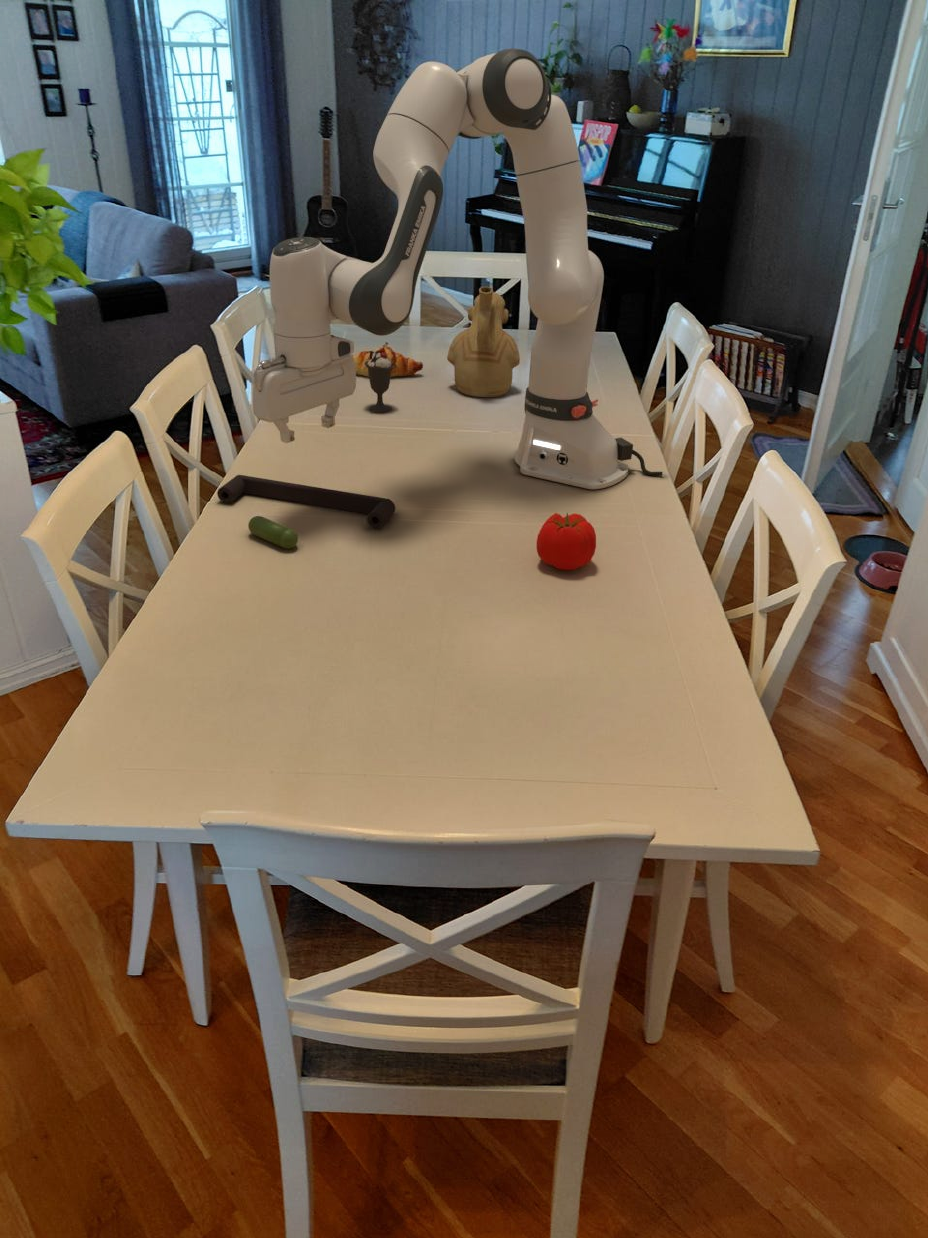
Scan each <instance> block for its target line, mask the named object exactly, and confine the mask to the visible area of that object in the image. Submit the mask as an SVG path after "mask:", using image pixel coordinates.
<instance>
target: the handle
mask: <svg viewBox="0 0 928 1238" xmlns="http://www.w3.org/2000/svg"><path fill="white" fill-rule="evenodd" d="M216 494H217V495H216V496H217V498H218V500H219V501H221V502H222V503H224V504H230V503H232V502H233V501H234V500H235V499H237V498H238V497H239V496H240V495H242V494H247V495H252V496H259V497H265V498H269V499H277V500H282V501H288V502H294V503H300V504H305V505H312V506H318V507H323V508H324V507H325V508H330V509H337V510H342V511H349V512H353V513H360V514H367V516H366V522H367V524H368V526H369V527H370V528H371V529H376V530H377V529H381V528H382V527H383V526H384V524H385V523H387V522H388V520H389V519H390V518H391V517H392V515H394V514H395V512H396V504H395V502H394V501H393V500H391V499H390V498H386V497H379V496H373V495H367V494H363V493H356V492H355V493H353V492H350V491H349V492H348V491H343V490H336V489H330V488H323V487H319V486H318V487H317V486H311V485H306V484H305V485H304V484H300V483H294V482H287V481H280V480H275V479H269V478H262V477H256V476H249V475H244V474H236V475H235V476H234V477H233V478H231V479H230V480H229V481H227V482H226V483H225V484H223V485H222V486H221V487H219V488H218V489H217V493H216Z"/></svg>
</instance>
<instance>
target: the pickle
mask: <svg viewBox="0 0 928 1238" xmlns="http://www.w3.org/2000/svg"><path fill="white" fill-rule="evenodd" d="M247 526H248V530H249V532H250V533H251V534H252V535H253V536H255V537H258V538H261V539H262V540H265V541H268V542H269V543H272V544H274V545H276V546H277V547H281V548H283V549H286V550H287V549H288V550H290V549H293V548H295V547H296V546H297V544H298V542H299V536H298V533H297V531H295V530H294V529H293V528H290V527H288V526H285V525H283V524H280V523H278V522H276V521H273V520H271V519H269V518H266V517H264V516H261V515H255V516H253V517H252V518H250V519H249V521H248V525H247Z"/></svg>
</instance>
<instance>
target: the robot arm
mask: <svg viewBox="0 0 928 1238" xmlns="http://www.w3.org/2000/svg"><path fill="white" fill-rule="evenodd" d="M497 135H502V136H503V137H504V138H505V140H506V142H507V143H508V145H509V148H510V150H511V154H512V159H513V168H514V173H515V179H516V184H517V189H518V195H519V201H520V202H519V203H520V206H521V212H522V218H523V224H524V237H525V238H524V239H525V257H526V258H525V260H526V273H527V285H528V286H527V287H528V288H527V300H528V301H527V303H528V306H529V308H530V311H531V312H532V314H533V315H534V316H535V317H536V318H537V322H536V323H537V324H536V328H535V333H534V337H533V341H532V344H531V351H530V363H529V374H528V375H529V376H528V387H527V388H526V389H525V396H524V415H525V416H524V420H523V421H524V422H523V428H522V432H521V436H520V441H519V443H518V447H517V448H516V449H517V450H516V453H515V455H514V458H513V459H514V462H515V463H516V464H517V465H518V466H519V473H521V474H522V475H524V476H529V477H533V478H538V479H543V480H546V481H551V482H555V483H560V484H565V485H570V486H574V487H577V488H581V489H582V488H583V489H586V490H600V489H605V488H609V487H611V486H614V485H616V484H618V483H620V482H621V481H623V480H624V479H625V478H626V477H627V476H628V475H629V465H627V464H626V463H623V461H630V460H632V458H633V457H632V456H635V457H636V459H638V460H639V464H640V469H641V472H642V473H643V474H645V475H647V476H650V477H657V476H659V477H662V476H663V473H664V472H663V471H650V470H648V469H646V464H645V459H644V457H643V455H641V454H640V453H639V452H638V451H636V450H634V444H633V443H631V442H630V441H628V440H627V439H625V438H623V437H614V436H613V435H612V434H611V433H610V432H609V431H608V429H606V427H605V426H603V424H602V423H601V422H600V421H599V419H597V417H596V416H595V415H594V414H593V413H594V412H593V408H594V407H597V406H598V405H599V404H598V402H599V399H595V400H593V401H592V400H591V398H590V396H589V393H588V383H589V374H590V367H591V366H590V365H591V356H592V349H593V344H594V340H595V334H596V329H597V324H598V318H599V312H600V307H601V306H600V305H601V301H602V294H603V287H604V280H605V272H604V268H603V264H602V262H601V259H600V258H599V257H598V256H597V255H596V254H595V252H593V251H592V250H589V242H588V239H589V238H588V204H587V198H586V193H585V184H584V177H583V172H582V166H581V165H582V164H581V161H580V153H579V148H578V142H577V139H576V135H575V131H574V126H573V124H572V120H571V117H570V114H569V111H568V108H567V106H566V104H565V102H564V100H562V99H561V98H560V97H559V96H558V95H556V94H553V93H552V89H551V87H550V85H549V82H548V78H547V75H546V72H545V70H544V68H543V65H541V62H540V61H539V60H538V58H537V57H536V56H535V55H534V54H533V53H531V52H530V51H527V50H525V49H521V48H505V49H502V50H499V51H497V52H494V53H490V54H487V55H484V56H482V57H479V58H477V59H476V60H474V61H473V62H472V63H470V64H468V65H466V66H464V67H462V68H459V69H457V70H455V69H453V68H452V67H451V66H449V65H447V64H445V63H442V62H440V61H439V62H438V61H426V62H423V63H421V64H420V65H418V66H417V67H416V68H415V69H414V70H413V71H412V73H411V74H410V76H409V77H408V79H407V80H406V81H405V83H403V86H402V87H401V89H400V90H399V92H398V94H397V95H396V97H395V99H394V101H393V102H392V104H391V106H390V108H389V110H388V112H387V114H386V116H385V118H384V120H383V122H382V124H381V127H380V129H379V131H378V133H377V135H376V139H375V143H374V147H373V153H372V156H373V162H374V166H375V169H376V172H377V174H378V176H379V178H380V179H381V181H382V182H383V183H384V185H386V186H387V188H389V190H391V192H392V193H394V194H395V195H396V198H397V202H398V208H397V213H396V217H395V219H394V222H393V225H392V227H391V231H390V235H389V237H388V240H387V243H386V246H385V249H384V252H383V253H382V255H381V257H380V258H379V259H378V260H376V261H375V262H369V261H364V260H361V259H359V258H355V257H351V256H348V255H345V254H342V253H339V252H337V251H335V250H333V249H331V248H329V247H327V246H326V245H324V244H323V243H322V242H321V241H320V239H318V238H316V237H311V236H300V237H292V238H288V239H285V240H283V241H281V242H279V243H278V244H277V245H276V246H274V247H273V249H272V252H271V255H270V260H269V294H270V295H269V296H270V303H271V306H272V310H273V313H274V322H273V325H272V326H273V327H272V333H273V344H274V345H273V346H274V357H272V358H270V359H263V360H261V361H260V362H259V365H257V366H256V368H255V369H254V371H253V383H252V412H253V415H254V416H255V417H256V418H257V419H258V420H261V421H264V422H267V423H273V424H274V426H275V427H276V428H277V430H278V431H279V437H280V442H282V443H284V444H289V443H292V442H295V440H296V439H295V430H292V429H290V428H289V426H288V424H289V423H290V421H289V420H290V419H289V417H292V416H295V415H298V414H301V413H304V412H305V411H309V410H312V409H315V408H318V407H320V406H324V405H326V406H325V411H324V413H323V415H321V416H320V417H321V418H320V419H321V426H322V427H323V428H326V429H330V428H332V427H335V426H336V415H337V413H338V409H339V408H340V400H341V399H344V398H347V397H351V396H353V394H354V392H355V390H356V389H357V388H356V387H357V374H356V369H355V361H354V358H353V356H352V355H353V354H354V352H355V343H354V341H353V340H351V339H350V340H349V339H348V338H343V337H341V336H336V335H334V334H332V333H331V331H332V330H331V322H332V321H337V320H339V321H341V322H344V323H347V324H350V325H354V326H357V327H358V328H360V329H362V330H364V331H366V332H368V333H370V334H373V335H375V336H383V337H384V336H388V335H391V334H393V333H395V332H396V331H398V330H399V329H401V327H403V325H404V324H405V323H406V321H407V320H408V319H409V316H410V315H411V312H412V309H413V304H414V299H415V293H416V286H417V283H418V278H419V274H420V271H421V269H422V265H423V262H424V260H425V256H426V253H427V251H428V247H429V245H430V242H431V239H432V236H433V232H434V230H435V226H436V223H437V221H438V218H439V215H440V210H441V207H442V202H443V199H444V183H443V180H442V174H443V170H444V167H445V164H446V162H447V159H448V157H449V155H450V153H451V151H452V148H453V146H454V143H455V141H456V139H457V137H461V138H464V139H470V140H477V139H481V138H485V137H486V138H487V137H495V136H497Z"/></svg>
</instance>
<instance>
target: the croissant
mask: <svg viewBox="0 0 928 1238" xmlns="http://www.w3.org/2000/svg"><path fill="white" fill-rule="evenodd" d="M383 346H385V345H381V346H378V347H376V348H375V349H374V350H372V351H373V352H375V351H378V350H380V349H381V348H384V347H383ZM384 349H385V352H386V353H387V355H388V358H389V359H390V361H391V362H393V363H395V364H396V365H395V366H394V367H393V368H392V371H391V378H394V377H403V376H404V377H405V376H411V375H415V374H416V373H418V372H420V371H422V370H423V368H424V363H423V362H422V361H416V360H415V359H413V358H411V357H406V356H404V355H403V354H402V353H399V352H397V351H394V350H393V349H392V347H390V346H388V345H386V346H385V348H384ZM370 351H371V350H362V351H359V352H358V353H356V354H351V355H352V356H353V358H354V361H355V369H356V375H359V376H363V377H367V378H369V373H368V368H367V367H366V366H365V364H364V363H365V362H366V361H369V359H370Z"/></svg>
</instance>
